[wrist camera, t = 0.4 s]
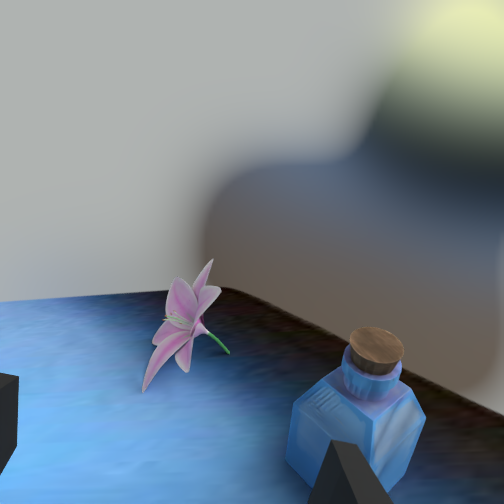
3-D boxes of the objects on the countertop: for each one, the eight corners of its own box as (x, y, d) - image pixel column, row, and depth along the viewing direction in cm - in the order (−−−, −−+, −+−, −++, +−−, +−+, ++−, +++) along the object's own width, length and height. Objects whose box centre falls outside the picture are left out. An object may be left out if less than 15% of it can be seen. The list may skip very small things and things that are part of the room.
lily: (187, 312, 47) (139, 256, 41) (280, 303, 42) (239, 237, 36) (146, 414, 39) (79, 361, 33) (255, 418, 34) (198, 357, 28)
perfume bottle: (285, 460, 30) (303, 336, 25) (338, 418, 34) (365, 301, 28) (351, 531, 26) (391, 402, 20) (404, 474, 30) (451, 351, 24)
